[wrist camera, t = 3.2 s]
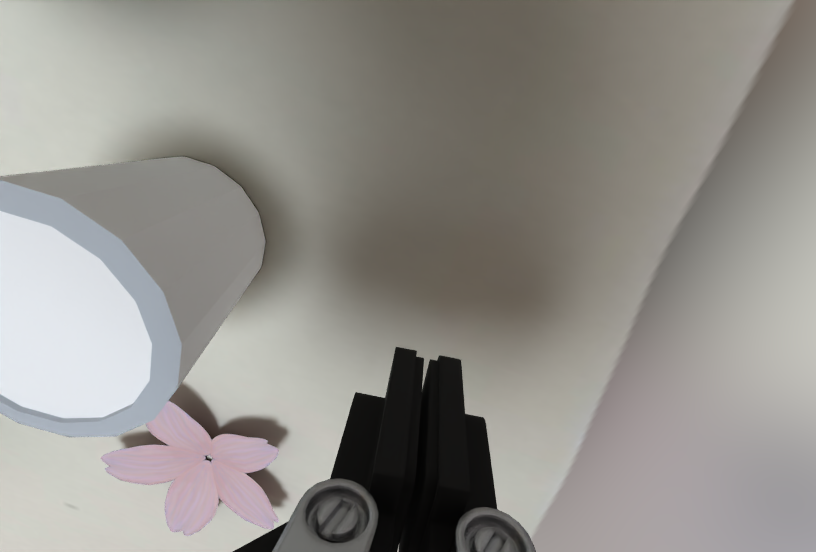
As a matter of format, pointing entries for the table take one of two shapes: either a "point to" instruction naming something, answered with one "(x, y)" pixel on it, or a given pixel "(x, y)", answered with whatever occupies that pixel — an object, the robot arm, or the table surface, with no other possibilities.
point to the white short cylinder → (115, 287)
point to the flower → (198, 471)
